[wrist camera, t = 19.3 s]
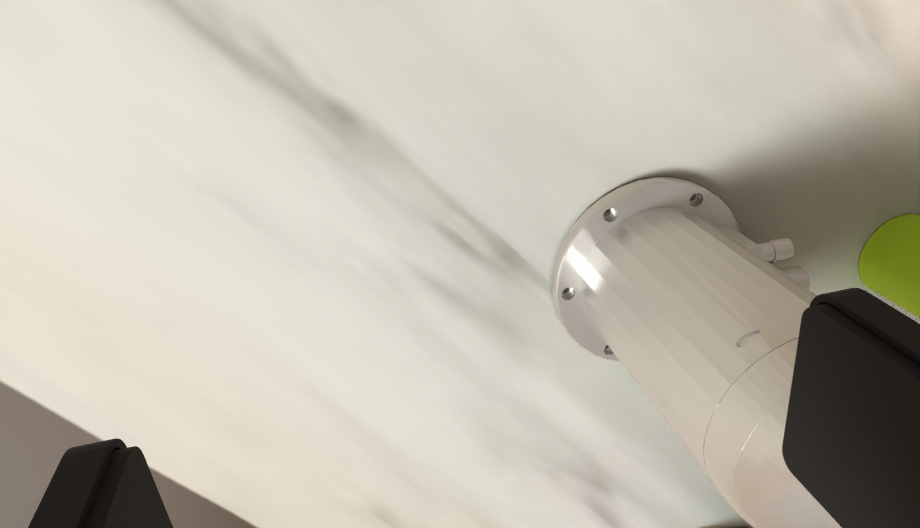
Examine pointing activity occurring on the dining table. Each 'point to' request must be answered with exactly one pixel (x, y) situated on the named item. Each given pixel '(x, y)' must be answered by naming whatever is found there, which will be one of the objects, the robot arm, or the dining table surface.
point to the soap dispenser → (894, 262)
